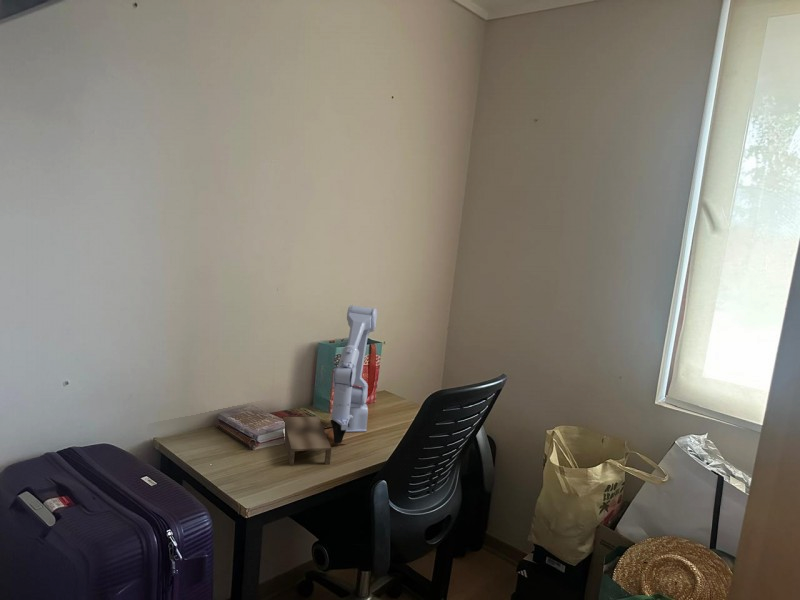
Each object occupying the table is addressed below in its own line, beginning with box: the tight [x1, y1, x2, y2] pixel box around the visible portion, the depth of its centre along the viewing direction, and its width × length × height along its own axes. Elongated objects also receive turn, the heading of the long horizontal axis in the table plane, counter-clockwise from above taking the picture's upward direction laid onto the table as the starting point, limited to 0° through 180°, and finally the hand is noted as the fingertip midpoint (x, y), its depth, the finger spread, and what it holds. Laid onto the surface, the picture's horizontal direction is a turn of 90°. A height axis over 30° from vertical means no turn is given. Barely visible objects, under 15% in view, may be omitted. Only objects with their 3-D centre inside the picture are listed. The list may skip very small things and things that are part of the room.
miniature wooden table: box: [282, 416, 332, 467], centre depth 177 cm, size 12×25×5 cm, turn 18°
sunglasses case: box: [297, 427, 347, 454], centre depth 181 cm, size 18×7×7 cm, turn 127°
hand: (337, 442), depth 181 cm, fingers closed
